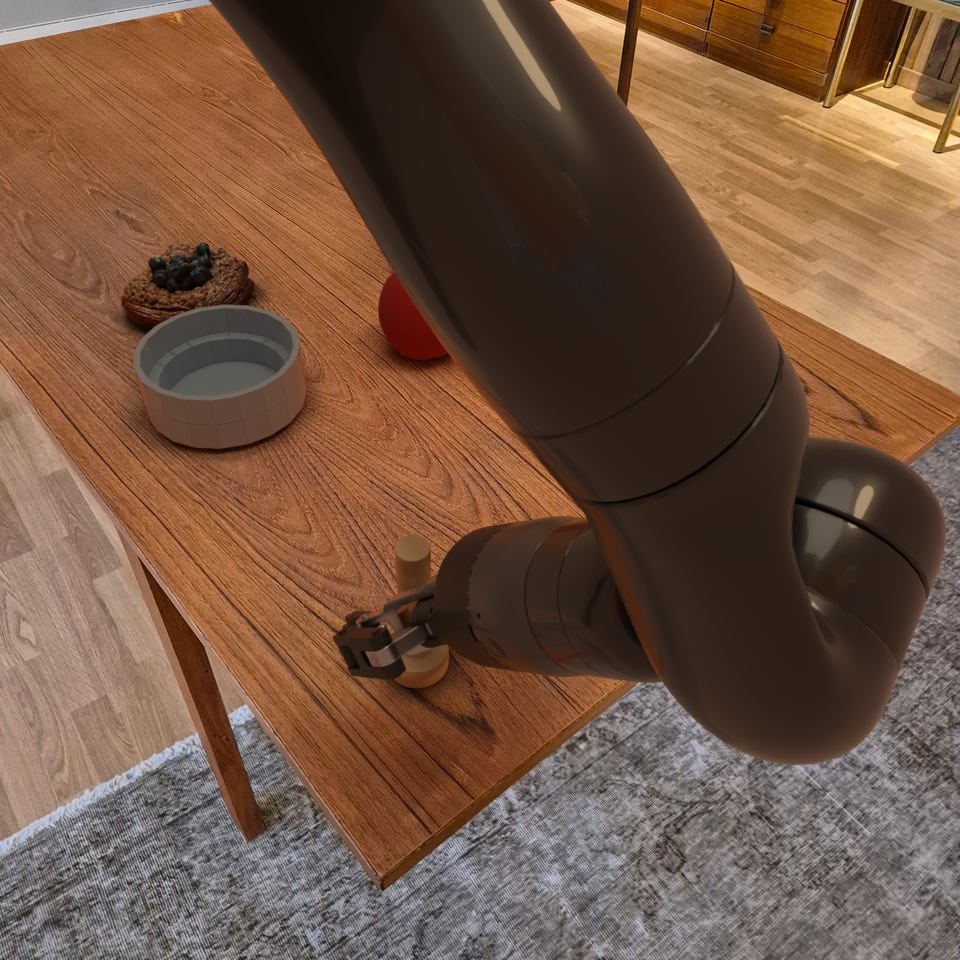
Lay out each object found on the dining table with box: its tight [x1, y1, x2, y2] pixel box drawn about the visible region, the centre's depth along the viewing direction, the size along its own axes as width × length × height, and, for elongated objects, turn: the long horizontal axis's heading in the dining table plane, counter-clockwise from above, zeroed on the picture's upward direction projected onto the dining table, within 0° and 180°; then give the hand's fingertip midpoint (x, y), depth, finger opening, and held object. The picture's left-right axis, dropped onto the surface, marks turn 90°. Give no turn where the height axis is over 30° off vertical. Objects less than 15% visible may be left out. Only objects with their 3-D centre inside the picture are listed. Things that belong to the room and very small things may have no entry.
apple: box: [377, 272, 448, 361], centre depth 86 cm, size 9×9×10 cm
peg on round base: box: [389, 534, 450, 689], centre depth 58 cm, size 4×4×12 cm
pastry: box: [120, 242, 257, 333], centre depth 92 cm, size 11×12×6 cm
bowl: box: [132, 305, 307, 450], centre depth 80 cm, size 14×14×6 cm
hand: (410, 596), depth 58 cm, fingers open, 8 cm apart
